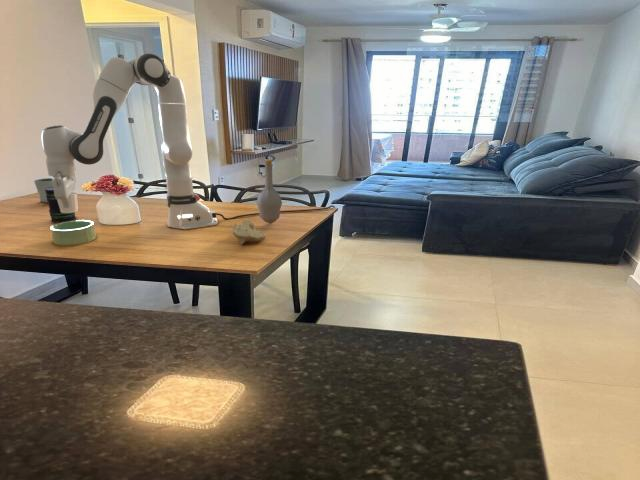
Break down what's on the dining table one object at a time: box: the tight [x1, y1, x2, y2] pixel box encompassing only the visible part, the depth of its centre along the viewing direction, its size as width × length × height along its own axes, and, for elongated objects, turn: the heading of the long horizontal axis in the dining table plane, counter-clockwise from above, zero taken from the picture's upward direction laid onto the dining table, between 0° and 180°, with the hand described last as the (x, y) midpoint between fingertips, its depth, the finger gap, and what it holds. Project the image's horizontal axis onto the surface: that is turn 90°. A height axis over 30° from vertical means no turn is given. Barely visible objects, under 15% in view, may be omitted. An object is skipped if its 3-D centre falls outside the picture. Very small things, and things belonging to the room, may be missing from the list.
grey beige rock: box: [231, 218, 267, 246], centre depth 153 cm, size 15×7×15 cm
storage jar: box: [45, 187, 77, 223], centre depth 177 cm, size 10×10×15 cm
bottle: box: [256, 159, 283, 225], centre depth 176 cm, size 11×11×30 cm
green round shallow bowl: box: [49, 219, 97, 247], centre depth 152 cm, size 15×15×6 cm
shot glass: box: [57, 192, 79, 213], centre depth 148 cm, size 7×7×7 cm
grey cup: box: [33, 177, 53, 203], centre depth 212 cm, size 10×10×12 cm
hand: (68, 205), depth 149 cm, fingers closed on shot glass, 5 cm apart
